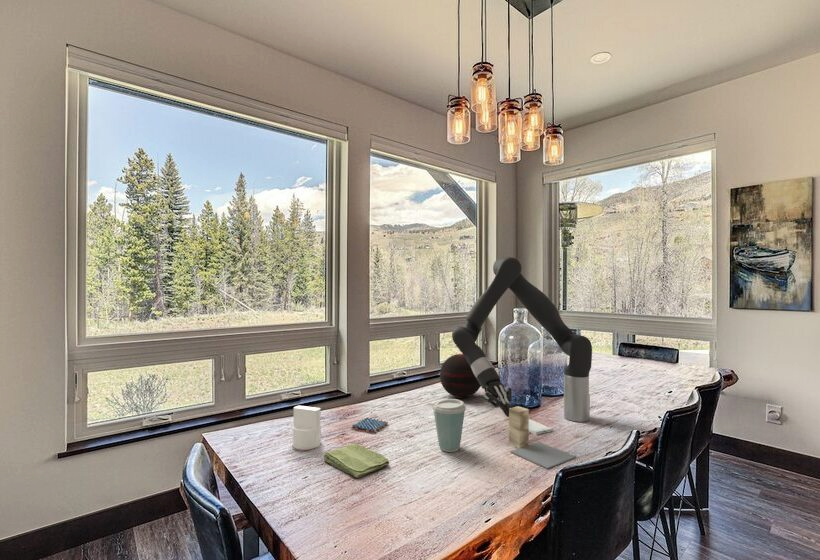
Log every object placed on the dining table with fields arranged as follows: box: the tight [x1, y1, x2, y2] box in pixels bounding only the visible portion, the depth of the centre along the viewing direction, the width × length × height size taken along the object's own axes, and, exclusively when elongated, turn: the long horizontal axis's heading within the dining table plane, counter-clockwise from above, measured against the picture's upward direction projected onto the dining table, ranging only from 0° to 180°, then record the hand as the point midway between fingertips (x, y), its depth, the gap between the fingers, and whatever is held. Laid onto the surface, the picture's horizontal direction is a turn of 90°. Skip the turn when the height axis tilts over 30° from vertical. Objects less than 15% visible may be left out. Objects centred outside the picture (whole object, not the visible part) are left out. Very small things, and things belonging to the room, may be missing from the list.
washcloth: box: [323, 443, 390, 479], centre depth 123 cm, size 13×18×3 cm
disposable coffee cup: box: [432, 398, 466, 453], centre depth 135 cm, size 11×11×15 cm
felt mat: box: [510, 441, 577, 470], centre depth 130 cm, size 14×14×1 cm
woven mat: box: [351, 417, 389, 435], centre depth 153 cm, size 10×11×2 cm
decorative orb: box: [439, 353, 482, 399], centre depth 194 cm, size 20×20×20 cm
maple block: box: [508, 405, 530, 449], centre depth 138 cm, size 4×4×12 cm
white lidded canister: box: [292, 405, 322, 451], centre depth 137 cm, size 9×9×12 cm
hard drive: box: [529, 418, 554, 436], centre depth 154 cm, size 2×8×12 cm
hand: (510, 415), depth 140 cm, fingers closed
